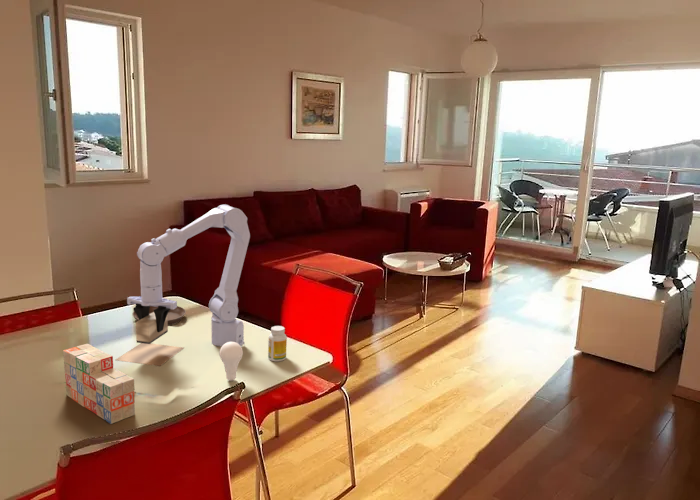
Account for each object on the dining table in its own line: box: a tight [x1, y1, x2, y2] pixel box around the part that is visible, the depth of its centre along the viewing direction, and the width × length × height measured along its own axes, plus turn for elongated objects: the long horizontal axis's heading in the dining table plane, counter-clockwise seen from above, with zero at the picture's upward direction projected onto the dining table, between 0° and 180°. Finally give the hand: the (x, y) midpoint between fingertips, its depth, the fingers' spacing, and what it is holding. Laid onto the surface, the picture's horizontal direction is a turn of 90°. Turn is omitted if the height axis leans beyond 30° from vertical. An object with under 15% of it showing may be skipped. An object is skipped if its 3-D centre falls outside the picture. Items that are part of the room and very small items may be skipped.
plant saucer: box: [132, 305, 187, 326], centre depth 196 cm, size 18×18×3 cm
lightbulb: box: [219, 342, 244, 382], centre depth 151 cm, size 6×6×11 cm
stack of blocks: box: [62, 343, 136, 425], centre depth 135 cm, size 21×6×12 cm, turn 52°
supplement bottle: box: [267, 325, 288, 362], centre depth 167 cm, size 5×5×10 cm
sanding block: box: [135, 312, 169, 344], centre depth 161 cm, size 4×10×6 cm, turn 168°
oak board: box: [115, 343, 185, 367], centre depth 164 cm, size 14×14×2 cm
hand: (152, 330), depth 162 cm, fingers closed on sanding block, 4 cm apart
